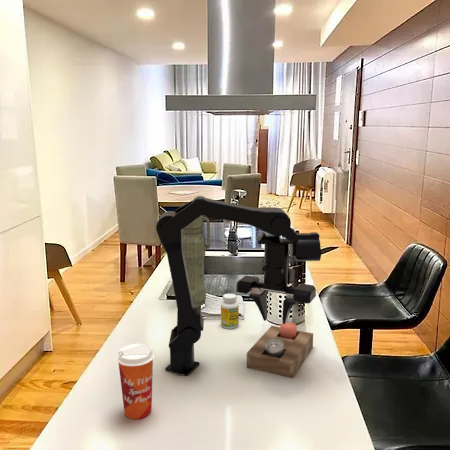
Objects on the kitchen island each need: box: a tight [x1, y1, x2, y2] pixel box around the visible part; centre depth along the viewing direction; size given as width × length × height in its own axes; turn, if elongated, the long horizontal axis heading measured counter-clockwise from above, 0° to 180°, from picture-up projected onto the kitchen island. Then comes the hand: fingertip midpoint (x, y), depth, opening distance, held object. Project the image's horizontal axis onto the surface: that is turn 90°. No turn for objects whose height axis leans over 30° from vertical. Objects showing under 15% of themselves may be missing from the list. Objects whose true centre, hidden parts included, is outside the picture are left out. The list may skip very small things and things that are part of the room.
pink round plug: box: [279, 321, 298, 340], centre depth 128 cm, size 4×4×3 cm
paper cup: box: [116, 343, 156, 420], centre depth 99 cm, size 8×8×14 cm
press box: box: [246, 325, 314, 379], centre depth 123 cm, size 18×12×4 cm, turn 154°
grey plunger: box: [264, 339, 284, 358], centre depth 118 cm, size 4×4×3 cm
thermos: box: [180, 201, 211, 307], centre depth 155 cm, size 9×12×35 cm
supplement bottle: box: [220, 293, 240, 330], centre depth 142 cm, size 5×5×10 cm
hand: (274, 321), depth 116 cm, fingers open, 5 cm apart
